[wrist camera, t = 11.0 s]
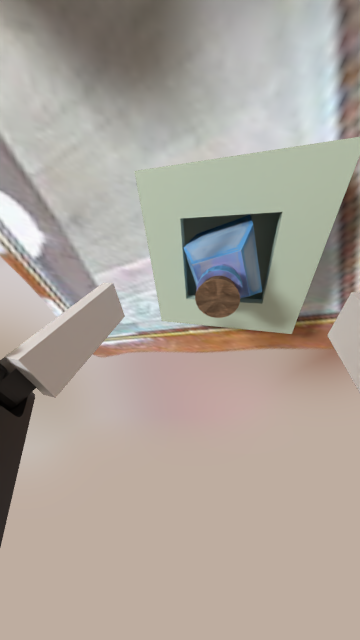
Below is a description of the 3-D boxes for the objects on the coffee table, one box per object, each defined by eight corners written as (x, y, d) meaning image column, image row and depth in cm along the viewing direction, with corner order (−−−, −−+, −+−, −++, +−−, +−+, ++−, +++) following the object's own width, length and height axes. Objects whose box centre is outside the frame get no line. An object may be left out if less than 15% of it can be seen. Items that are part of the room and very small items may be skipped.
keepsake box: (159, 174, 20) (134, 171, 15) (329, 150, 15) (367, 135, 11) (174, 299, 29) (161, 320, 24) (282, 306, 25) (291, 334, 20)
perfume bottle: (209, 280, 24) (190, 336, 15) (196, 234, 21) (162, 270, 12) (257, 268, 22) (269, 328, 13) (250, 214, 19) (258, 241, 10)
